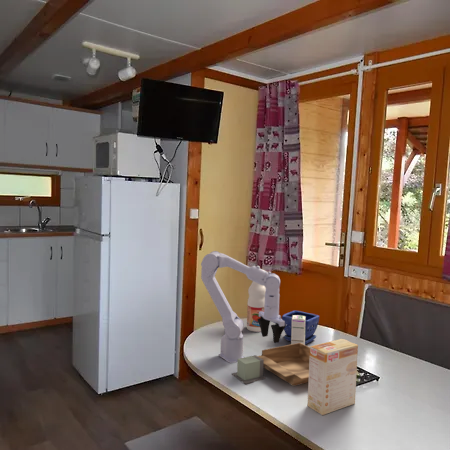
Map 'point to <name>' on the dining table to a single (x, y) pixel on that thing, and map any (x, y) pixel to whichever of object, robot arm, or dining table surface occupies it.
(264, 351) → the wooden tray
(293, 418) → the dining table surface
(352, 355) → the coffeecake box
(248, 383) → the mat
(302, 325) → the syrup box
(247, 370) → the capped block
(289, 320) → the flower pot
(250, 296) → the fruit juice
